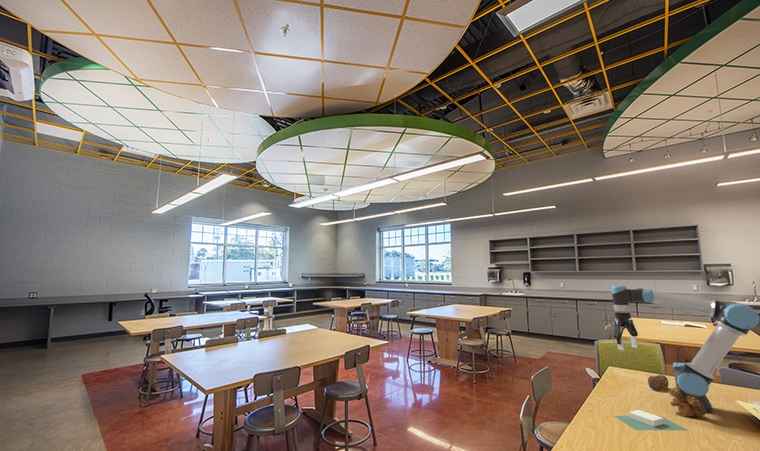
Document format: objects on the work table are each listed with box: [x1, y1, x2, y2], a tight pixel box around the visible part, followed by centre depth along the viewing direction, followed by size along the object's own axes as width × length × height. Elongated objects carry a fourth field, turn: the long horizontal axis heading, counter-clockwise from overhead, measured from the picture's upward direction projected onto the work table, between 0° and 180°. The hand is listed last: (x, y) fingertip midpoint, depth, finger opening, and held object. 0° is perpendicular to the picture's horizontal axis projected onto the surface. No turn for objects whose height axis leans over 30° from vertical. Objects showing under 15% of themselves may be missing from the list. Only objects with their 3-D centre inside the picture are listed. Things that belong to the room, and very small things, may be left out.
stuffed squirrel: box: [669, 386, 707, 418], centre depth 168 cm, size 10×14×13 cm
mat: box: [613, 415, 688, 431], centre depth 159 cm, size 24×16×1 cm, turn 87°
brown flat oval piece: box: [647, 374, 669, 391], centre depth 207 cm, size 15×3×8 cm, turn 105°
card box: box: [628, 409, 664, 427], centre depth 160 cm, size 8×3×11 cm
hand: (627, 348), depth 188 cm, fingers open, 13 cm apart
